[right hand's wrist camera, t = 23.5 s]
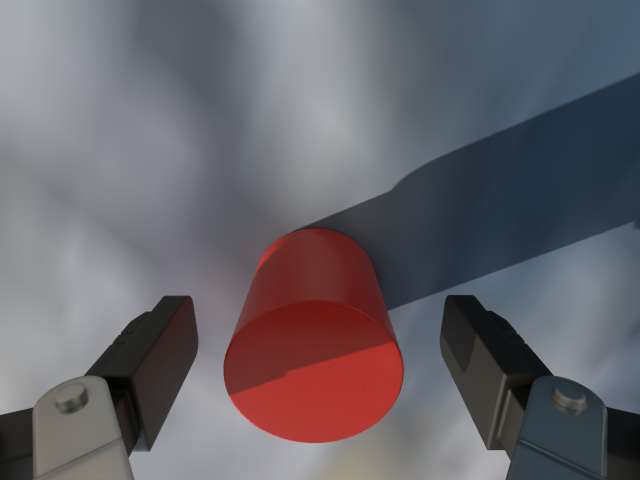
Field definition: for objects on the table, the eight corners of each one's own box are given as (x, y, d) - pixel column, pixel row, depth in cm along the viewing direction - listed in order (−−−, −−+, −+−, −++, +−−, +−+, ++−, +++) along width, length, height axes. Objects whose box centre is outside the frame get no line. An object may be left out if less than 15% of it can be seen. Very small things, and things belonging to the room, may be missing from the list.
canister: (383, 322, 14) (414, 429, 9) (273, 342, 14) (251, 455, 10) (364, 216, 12) (390, 283, 8) (240, 241, 13) (197, 320, 8)
